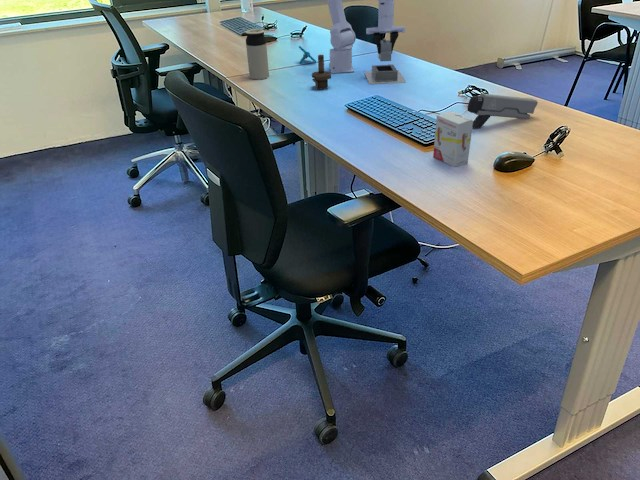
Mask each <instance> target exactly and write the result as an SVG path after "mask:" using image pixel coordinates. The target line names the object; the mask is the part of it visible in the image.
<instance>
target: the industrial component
mask: <svg viewBox="0 0 640 480" xmlns="http://www.w3.org/2000/svg"><path fill="white" fill-rule="evenodd" d="M317 66H318V67H317V69H318V71H313V72H312V73H311V77H312V81H313V83H315V86H314V87H315V90H326V89H328V88H329V81H328V80H330V79H332V78H331V77H332V73H331V71H325V56H324V54H318V55H317Z"/></svg>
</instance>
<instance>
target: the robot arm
mask: <svg viewBox="0 0 640 480" xmlns="http://www.w3.org/2000/svg"><path fill="white" fill-rule="evenodd" d="M377 1H378V9H377V10H378V15H377V17H378V19H377V21H378V22H377V26H373V27H366V29H365V31H366V32H365V34H366V35H372V36H373V38H374V41H375V45H376V48H377V54H378V55H379V54H380V41H381V40H382V39H381V38H382V36H381V34H389V41H390V42H391V43H392V49H391V51H392V52H393V51H394V47H395V43H396V41H397V39H398V38H399V33H401V34H403V33H406V26H404V25H400V26H399V25H398V26H397V25H396V26H395V25H394V20H395V19H394V18H395V17H394V16H395V0H377ZM326 2H327V6H328V10H329V14H330V18H331V22H332V26H331V28H330V30H329V33H330V44H331V46H332V47H333V48H329V62H328V63H329V64H328V67H329V70H330V71H329V72H330V73H331V74H338V73H340V74H341V73H343V74H344V73H354V72H355V70H354V68H353V47H354V44H355V42H356V38H357V37H356V33H355V31H354V30H353V28H352V24H350V22H348V21H347V20H346V19H347V18H346V15H345V10H344V6H343V2H342V0H326Z"/></svg>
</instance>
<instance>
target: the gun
mask: <svg viewBox="0 0 640 480" xmlns="http://www.w3.org/2000/svg"><path fill="white" fill-rule="evenodd" d="M537 106H538V100H536V99H533V98H527V97H518V96H511V95H510V96H508V95H498V94H491V93H490V94H489V93H480V94H479V95H477V96H476V95H473V96H471V98H470V99H469V101H468V104H467V112H469V113H472V114H474V115H477V116H476V117H475V118H474V119H473V126H472V129H477V130H479V129H481V128H483V126H484V125H485V124H486V122H487V121H488V120H489V119H490V118H491V117H497V118H498V117H500V118H510V119H511V118H513V119H525V120H528V119H530V117H531V115H532V114H534V113H535V109H536V107H537Z"/></svg>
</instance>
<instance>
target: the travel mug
mask: <svg viewBox="0 0 640 480" xmlns="http://www.w3.org/2000/svg"><path fill="white" fill-rule="evenodd" d="M264 34H265V30H264V29H262V28H253V29H252V28H251V29H248V30H245V35H246V39H245V47H246V55H247V64H248V66H247V67H248V72H249V73H248V75H249V79H252V80H256V79H260V80H264V78H265V79H267V78H269V77H270V72H269V59H268V48H267V38H266V37H265V35H264Z"/></svg>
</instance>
